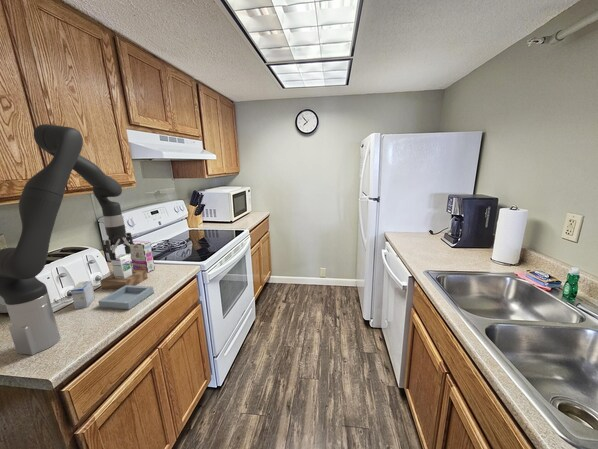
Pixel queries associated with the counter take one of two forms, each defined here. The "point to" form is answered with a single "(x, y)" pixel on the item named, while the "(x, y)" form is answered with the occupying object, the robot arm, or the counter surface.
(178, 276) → the counter surface
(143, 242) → the candy bar box
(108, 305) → the tray
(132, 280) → the socket collar
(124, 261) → the syrup box
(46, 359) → the counter surface
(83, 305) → the medicine box
